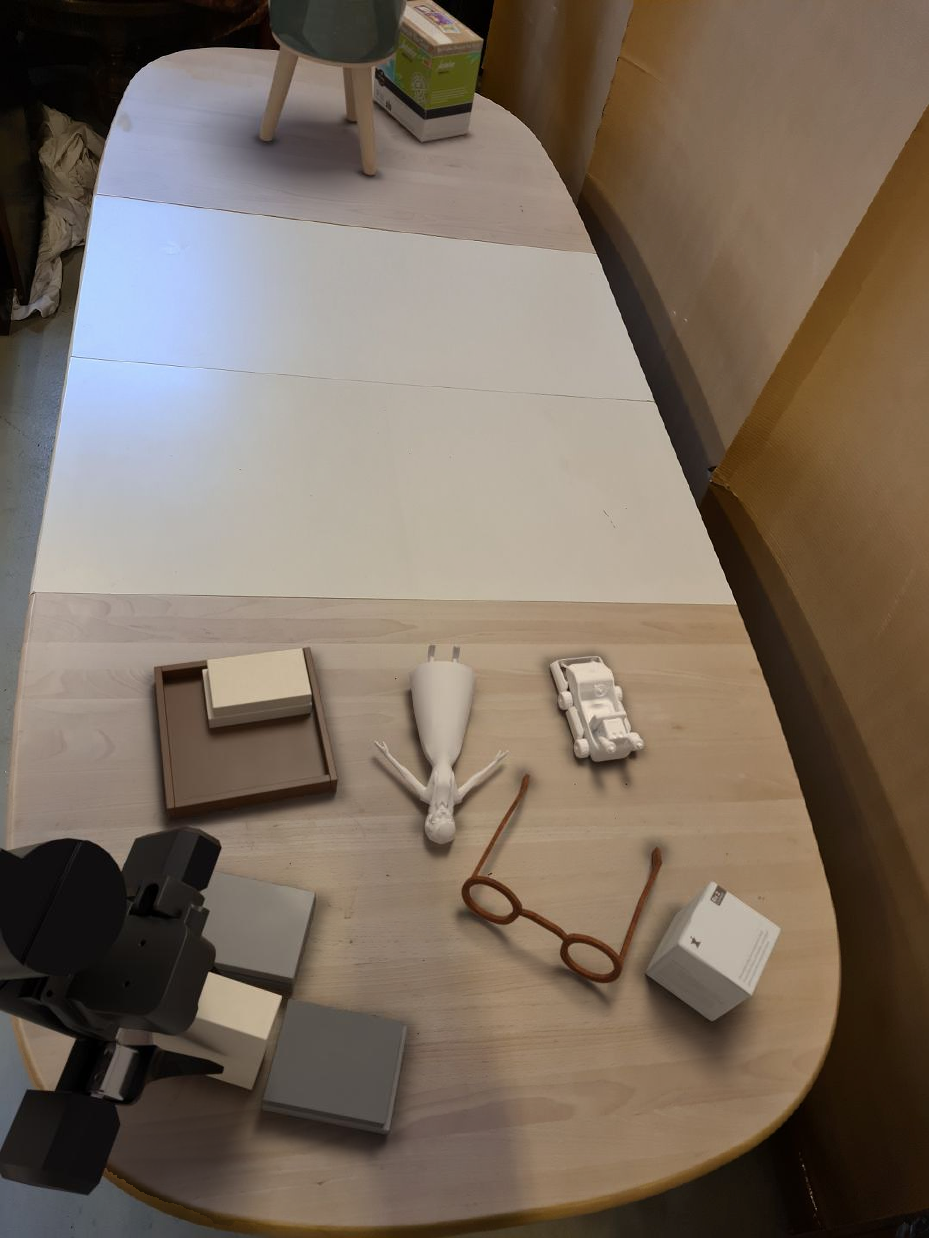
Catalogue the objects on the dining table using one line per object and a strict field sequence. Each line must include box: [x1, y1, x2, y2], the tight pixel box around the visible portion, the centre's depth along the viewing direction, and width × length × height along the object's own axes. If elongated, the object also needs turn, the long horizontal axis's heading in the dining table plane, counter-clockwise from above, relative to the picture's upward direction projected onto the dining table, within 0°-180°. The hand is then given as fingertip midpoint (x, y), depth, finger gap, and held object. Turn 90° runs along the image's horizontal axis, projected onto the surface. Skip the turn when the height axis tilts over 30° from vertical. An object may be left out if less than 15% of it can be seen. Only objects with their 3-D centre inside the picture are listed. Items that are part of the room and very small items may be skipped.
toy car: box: [549, 655, 645, 763], centre depth 80 cm, size 6×12×4 cm, turn 13°
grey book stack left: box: [200, 870, 317, 993], centre depth 64 cm, size 8×6×3 cm
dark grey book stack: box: [261, 998, 409, 1135], centre depth 59 cm, size 8×6×3 cm
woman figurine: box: [373, 643, 509, 845], centre depth 75 cm, size 12×4×18 cm
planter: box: [259, 0, 408, 176], centre depth 124 cm, size 22×22×33 cm
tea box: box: [372, 0, 484, 143], centre depth 142 cm, size 15×10×15 cm
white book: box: [148, 972, 283, 1091], centre depth 55 cm, size 7×2×13 cm, turn 76°
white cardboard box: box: [645, 881, 782, 1022], centre depth 66 cm, size 6×6×7 cm
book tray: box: [153, 646, 339, 821], centre depth 74 cm, size 13×13×2 cm
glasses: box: [460, 773, 663, 984], centre depth 70 cm, size 13×13×5 cm
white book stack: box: [202, 647, 312, 728], centre depth 75 cm, size 8×5×3 cm, turn 106°
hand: (229, 1038), depth 54 cm, fingers closed on white book, 3 cm apart
